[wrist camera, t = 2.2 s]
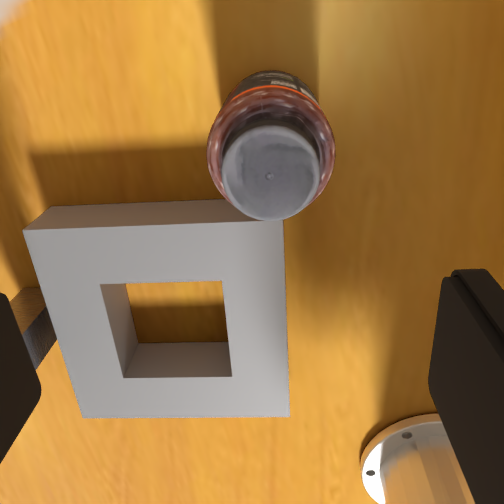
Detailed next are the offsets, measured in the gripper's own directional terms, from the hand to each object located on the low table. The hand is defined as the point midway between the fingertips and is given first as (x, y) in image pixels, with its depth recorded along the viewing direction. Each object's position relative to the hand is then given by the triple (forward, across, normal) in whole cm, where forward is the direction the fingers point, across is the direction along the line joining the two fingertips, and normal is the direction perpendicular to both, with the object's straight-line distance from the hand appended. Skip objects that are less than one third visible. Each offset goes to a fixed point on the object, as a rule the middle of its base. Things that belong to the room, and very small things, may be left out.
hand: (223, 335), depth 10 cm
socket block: (+21, +7, +13) cm, 25 cm away
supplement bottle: (+21, -1, 0) cm, 21 cm away
